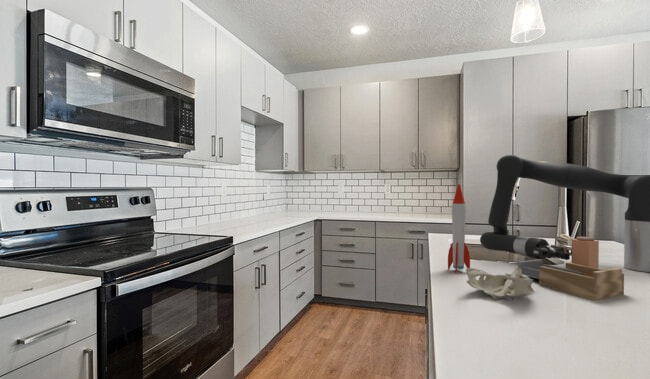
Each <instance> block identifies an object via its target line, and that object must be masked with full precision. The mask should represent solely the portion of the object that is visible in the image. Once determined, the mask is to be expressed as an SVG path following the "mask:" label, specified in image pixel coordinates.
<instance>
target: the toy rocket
mask: <svg viewBox="0 0 650 379" xmlns="http://www.w3.org/2000/svg"><path fill="white" fill-rule="evenodd" d="M461 187H462V186H461V184H460V183H458V184H457V187H456V190H455V194H454V198H453V201H452V204H451V220H452V221H451V224H452V225H451V226H452V242H451V245H450V247H449V249H448V254H447V270H450V268H451V266H452V268H453V269H454V270H455V271H454V273H455V274H458V270H463V269H465V267H466V269H467V268H471V255H470V252H469V248H468V246H467V244H466V242H465V241H466V240H465V239H466V237H465V236H466V235H465V234H466V214H467V213H466V208H467V207H466V206H467V205H466V202H465V199H464V195H463V191H462V188H461Z"/></svg>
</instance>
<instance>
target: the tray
mask: <svg viewBox="0 0 650 379" xmlns="http://www.w3.org/2000/svg"><path fill="white" fill-rule="evenodd" d="M543 261H544V259H543V260H541V259H531V260H523V261H522V260H521V261H517V268H521V270H522V275H523V276H525V277H529V278H534V279H538V280H539V266H544V267H549V268H553V269H557V270H562V271H566V272H570V273H575V274H579V275H582V272H578V271H573V270H569V269H566V268H563V267H559V266H555V265H549V264H547V263H545V264H544V262H543Z"/></svg>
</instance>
